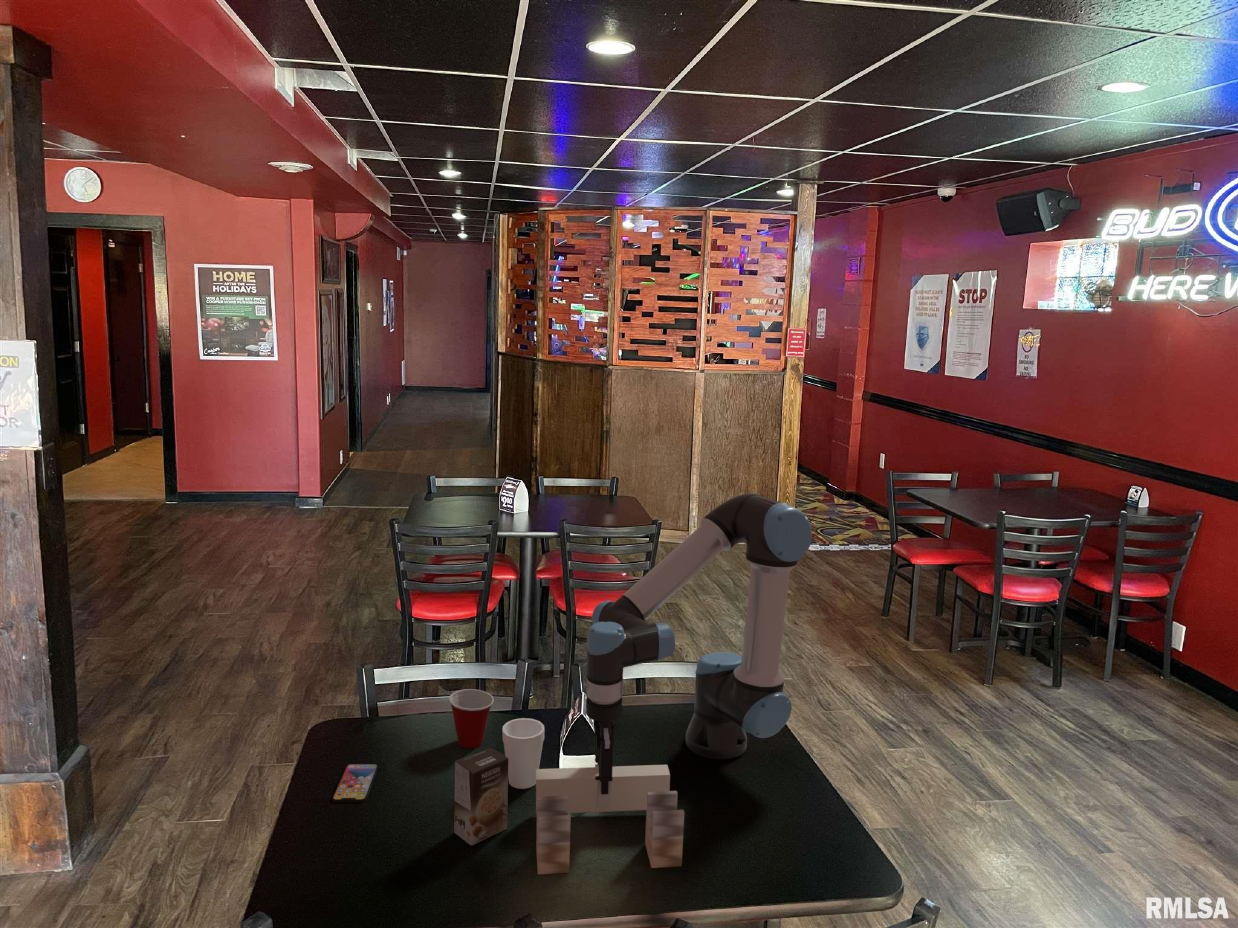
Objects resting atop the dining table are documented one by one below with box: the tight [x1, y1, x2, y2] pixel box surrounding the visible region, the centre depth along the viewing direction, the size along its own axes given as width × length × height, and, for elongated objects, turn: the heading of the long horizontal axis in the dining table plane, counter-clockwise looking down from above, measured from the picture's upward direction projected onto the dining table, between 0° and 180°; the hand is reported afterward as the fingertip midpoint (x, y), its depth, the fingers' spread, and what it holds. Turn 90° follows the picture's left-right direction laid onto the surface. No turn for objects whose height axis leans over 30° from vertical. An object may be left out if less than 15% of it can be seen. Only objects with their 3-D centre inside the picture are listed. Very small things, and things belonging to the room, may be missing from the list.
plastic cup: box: [448, 688, 495, 750], centre depth 216 cm, size 11×11×12 cm
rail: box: [535, 764, 671, 815], centre depth 188 cm, size 28×4×8 cm, turn 96°
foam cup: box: [502, 717, 545, 790], centre depth 200 cm, size 10×9×13 cm
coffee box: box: [453, 747, 509, 846], centre depth 181 cm, size 9×6×16 cm
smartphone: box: [331, 763, 379, 804], centre depth 199 cm, size 7×1×15 cm
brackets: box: [535, 790, 685, 875], centre depth 174 cm, size 28×8×12 cm, turn 98°
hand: (602, 798), depth 189 cm, fingers closed on rail, 4 cm apart
